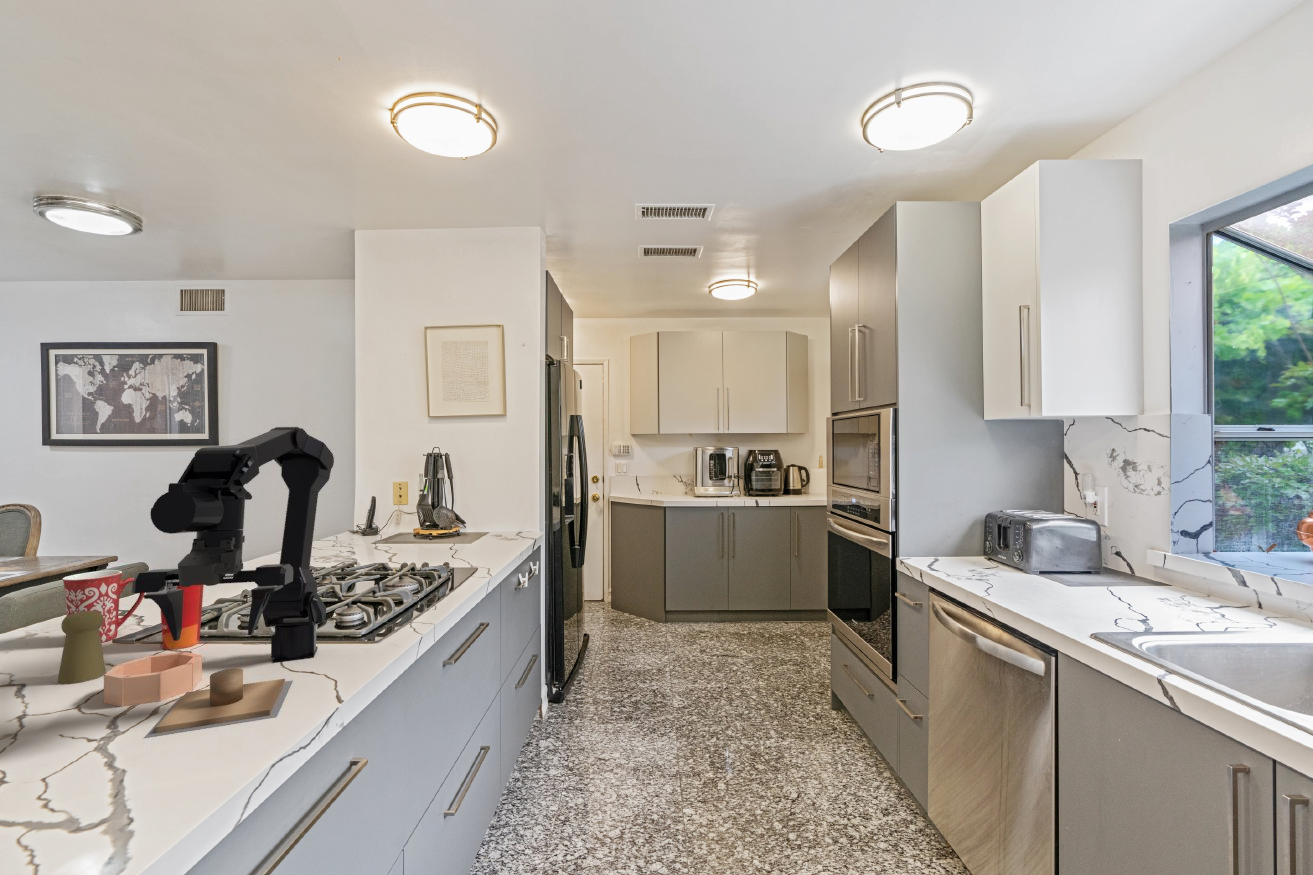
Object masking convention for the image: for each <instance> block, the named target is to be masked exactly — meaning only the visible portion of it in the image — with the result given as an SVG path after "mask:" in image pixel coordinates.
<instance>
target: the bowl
mask: <svg viewBox="0 0 1313 875" xmlns="http://www.w3.org/2000/svg"><path fill="white" fill-rule="evenodd" d="M202 670H203V655H202V654H197V653H193V652H186V651H181V652H172V653H163V654H156V655H148V656H145V657H141V658H137V659H134V660H129V661H126V662H124V663H123V662H122V663H119V664H117V665H115V666H114V667H112V668H111V669H110V670H108V671H106V674H105V675H103V703H104V704H107V705H114V706H117V707H121V708H123V707H124V708H125V707H130V706H137V705H145V704H146V705H147V704H152V703H158V702H163V701H166V700H168V699H172V698H174V697H177V696H180V695H181V696H182V695H185V693H186V692H191V691H195V688H197V686H198V685H199V684H200V683H201V682H202V681H203V680H202V679H203V678H202V677H203V676H202V675H203V671H202Z"/></svg>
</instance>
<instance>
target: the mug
mask: <svg viewBox="0 0 1313 875" xmlns="http://www.w3.org/2000/svg"><path fill="white" fill-rule="evenodd" d="M122 574H123V571H121V570H117V569H114V570H112V569H110V570H109V569H108V570H98V571H97V570H96V571H90V572H82V573H77V574H72V575H68V576H64V577H63V578H61V580H62V581H63V588H64V589H63V590H64V600H65V601H64V602H65V603H64V604H65V612H66V613H65V614H66V616H68V615H70V614H74V613H77V612H83V611H98V612H100V613H101V614H102V615H103V624H102V626H101V627H100V629H99V633H100V639H101V644H102V643H106V642H110V641H112V640H114V639H116V638H117V637H118V632H119V631H118V629H119V628H120V627H121V626H122V625H123V624H124V623H125V622H126V621H127V620H128V619H129V618H130V617H131V616H132V615H133V614H134V612H135V611H136V610H137V609H138V607H139V606H140V604H141V603H142V600H143V599H144V597H143V595H146V593H139V595H138V597H137V599H136V601H135V602H134V604H133V605H132V606H131V608H130V609H129V610H128V611H127V612H126V613H125V614H124V615H123V616H122V617H119V609H120V595H121V594H122V593H123V592H124V589H125V588H126V586H127V585H128V584H130V583H133V580H134V578H135V577H130V578H129V577H128V578H126V579H123V580H121V577H122ZM66 616H65V617H66Z"/></svg>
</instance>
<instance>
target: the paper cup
mask: <svg viewBox="0 0 1313 875" xmlns="http://www.w3.org/2000/svg"><path fill="white" fill-rule="evenodd" d="M204 586H205V585H192V586H190V587H181V586H178V587H177V588H176V589H184V595H183V616H182V630H181V635H180V639H179V640H178V641H174V640H173V638H172V635H171V632H170V630H169V627H168V625H167V622H166V619H165V617H164V615H163V613H162V611H161V610H160V623H161V634H162V635H161V636H162V637H161V638H162V646H163V647H162V648H163V649H164V650H166V649H169V651H170V650H171V649H175V650H181V649H182V650H183V649H186V648H187V649H188V648H190V647H193V646H196V645H198V644H199V643H200V638H201V636H200V635H201V628H202V627H201V625H202V623H201V622H202V612H203V598H204V597H203V596H204V588H205V587H204ZM171 651H172V650H171Z"/></svg>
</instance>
